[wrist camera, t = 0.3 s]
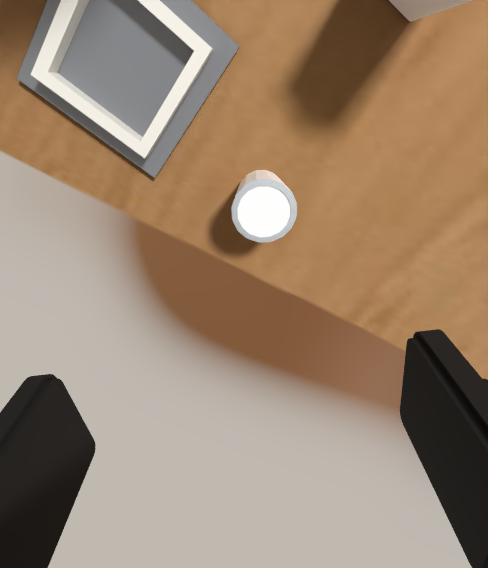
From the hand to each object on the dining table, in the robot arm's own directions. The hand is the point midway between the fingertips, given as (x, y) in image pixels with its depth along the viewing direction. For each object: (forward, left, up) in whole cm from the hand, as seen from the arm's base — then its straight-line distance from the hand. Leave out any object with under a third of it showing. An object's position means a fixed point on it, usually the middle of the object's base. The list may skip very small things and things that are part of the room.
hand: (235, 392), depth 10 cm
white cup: (+5, -2, -35) cm, 36 cm away
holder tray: (-14, 0, -35) cm, 38 cm away
